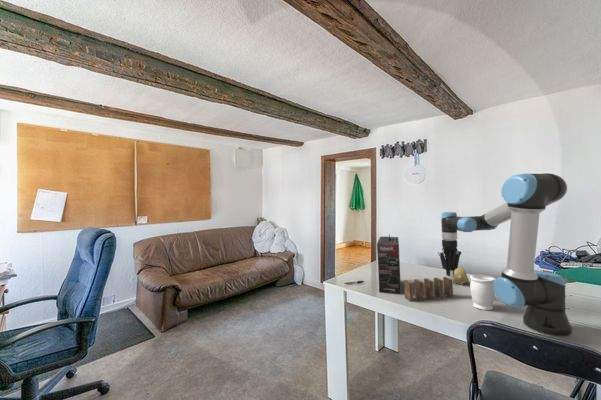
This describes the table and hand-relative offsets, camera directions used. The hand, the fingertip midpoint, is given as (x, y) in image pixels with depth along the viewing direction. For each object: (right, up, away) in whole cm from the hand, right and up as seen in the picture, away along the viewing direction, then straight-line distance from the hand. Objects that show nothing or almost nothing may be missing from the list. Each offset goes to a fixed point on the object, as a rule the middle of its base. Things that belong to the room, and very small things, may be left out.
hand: (450, 281), depth 151 cm
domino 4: (-7, -8, -1) cm, 11 cm away
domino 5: (-1, -8, 0) cm, 8 cm away
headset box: (-28, -9, +18) cm, 34 cm away
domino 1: (-25, -9, -4) cm, 27 cm away
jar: (+7, -8, -16) cm, 20 cm away
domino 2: (-19, -9, -3) cm, 21 cm away
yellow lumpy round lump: (+17, -8, +20) cm, 27 cm away
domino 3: (-13, -8, -2) cm, 16 cm away
